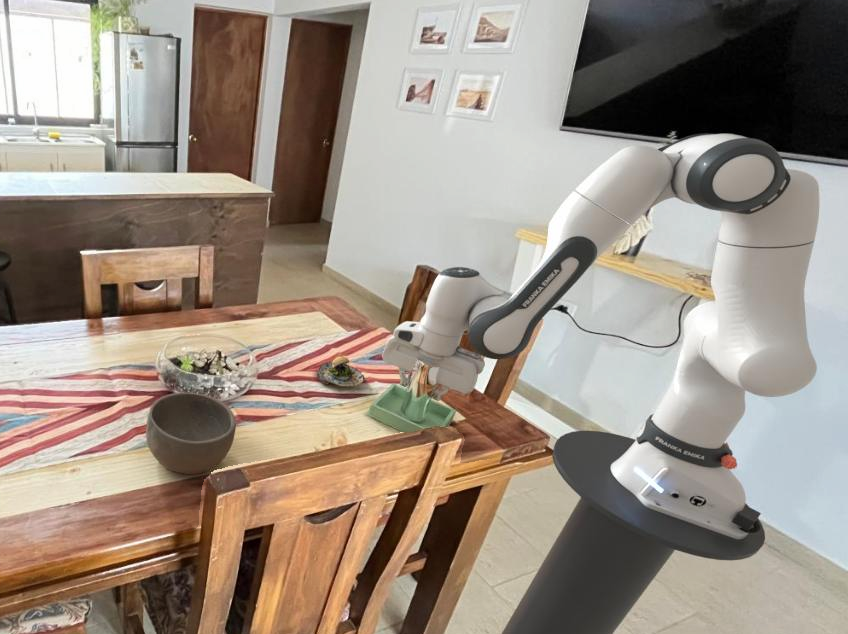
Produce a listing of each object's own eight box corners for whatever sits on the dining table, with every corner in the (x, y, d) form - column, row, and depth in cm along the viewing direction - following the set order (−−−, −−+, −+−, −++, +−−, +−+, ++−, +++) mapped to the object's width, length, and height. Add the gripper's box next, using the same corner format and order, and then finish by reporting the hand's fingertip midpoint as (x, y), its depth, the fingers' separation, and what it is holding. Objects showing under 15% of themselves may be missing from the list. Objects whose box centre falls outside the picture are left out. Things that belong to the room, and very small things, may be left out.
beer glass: (395, 402, 125) (412, 349, 118) (425, 408, 124) (444, 354, 117) (398, 419, 119) (417, 363, 112) (430, 425, 118) (450, 369, 111)
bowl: (213, 423, 113) (218, 385, 108) (244, 479, 98) (251, 438, 93) (135, 433, 107) (137, 393, 102) (155, 495, 92) (158, 451, 88)
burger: (322, 390, 129) (328, 364, 125) (312, 366, 139) (318, 341, 136) (368, 393, 130) (376, 368, 126) (355, 369, 140) (362, 345, 137)
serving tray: (452, 420, 122) (456, 410, 121) (433, 446, 113) (438, 435, 111) (389, 393, 131) (393, 383, 129) (367, 415, 121) (370, 404, 120)
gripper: (491, 352, 109) (470, 406, 115) (398, 319, 120) (383, 370, 126) (484, 362, 104) (462, 417, 111) (387, 327, 115) (372, 379, 121)
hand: (419, 392), depth 118 cm, fingers closed on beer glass, 6 cm apart
